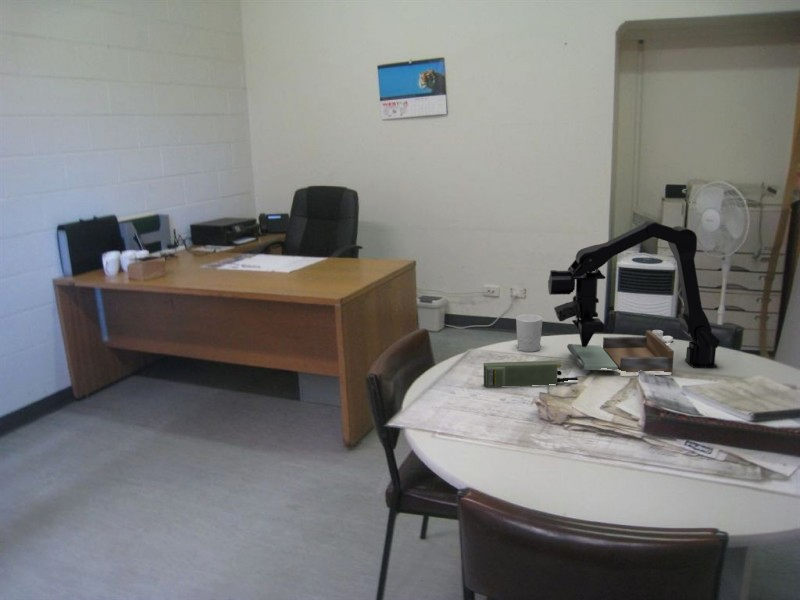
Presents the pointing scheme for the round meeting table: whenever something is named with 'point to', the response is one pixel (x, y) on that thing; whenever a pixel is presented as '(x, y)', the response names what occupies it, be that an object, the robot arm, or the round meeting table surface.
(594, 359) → the panel
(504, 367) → the handheld radio
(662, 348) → the brown and grey drawer
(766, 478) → the round meeting table surface
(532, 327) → the white cup
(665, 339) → the teacup and saucer
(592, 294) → the robot arm
